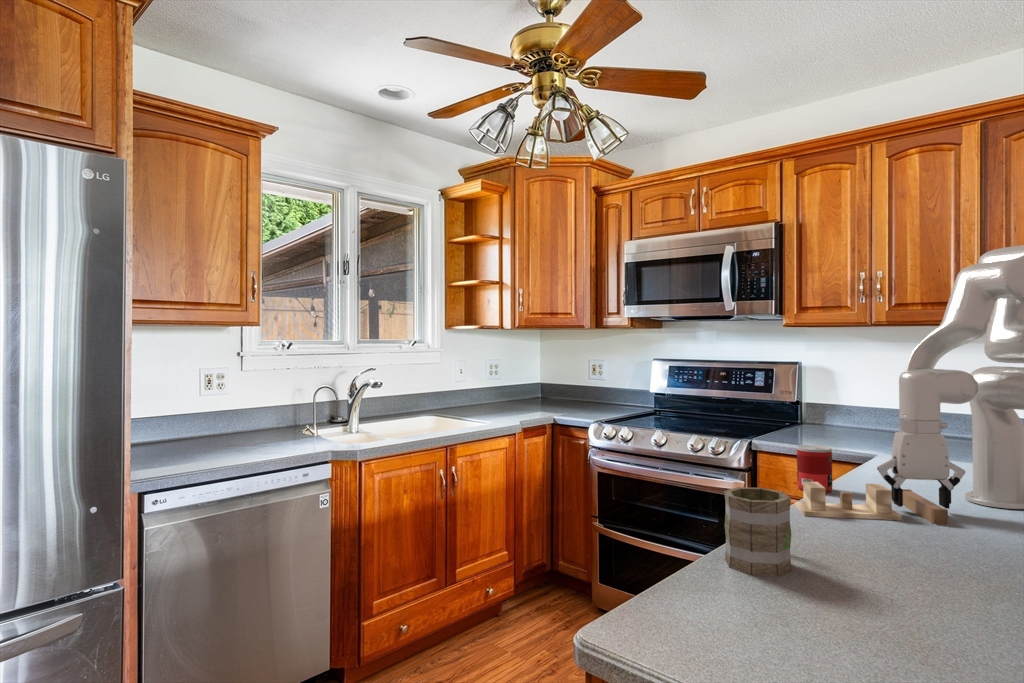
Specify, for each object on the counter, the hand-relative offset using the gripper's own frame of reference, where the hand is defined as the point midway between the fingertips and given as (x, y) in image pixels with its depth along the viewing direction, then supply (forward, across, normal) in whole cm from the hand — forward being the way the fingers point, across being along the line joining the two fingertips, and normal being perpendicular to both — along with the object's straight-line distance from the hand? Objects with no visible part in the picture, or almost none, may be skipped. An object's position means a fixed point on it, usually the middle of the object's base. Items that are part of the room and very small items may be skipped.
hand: (921, 505), depth 133 cm
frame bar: (+2, 0, 0) cm, 2 cm away
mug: (+2, +40, +37) cm, 55 cm away
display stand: (+2, +16, +3) cm, 16 cm away
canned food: (+2, +17, -18) cm, 25 cm away
